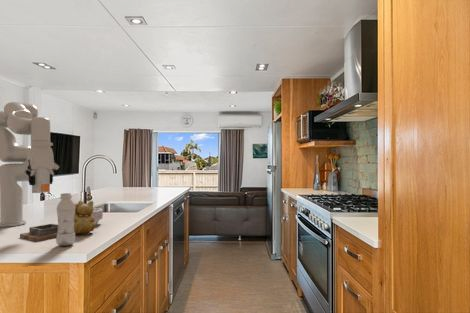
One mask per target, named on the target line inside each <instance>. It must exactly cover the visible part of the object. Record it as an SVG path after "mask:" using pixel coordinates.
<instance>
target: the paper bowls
mask: <svg viewBox="0 0 470 313" xmlns="http://www.w3.org/2000/svg"><path fill="white" fill-rule="evenodd" d="M103 214H104V211H103V208H100V207H99V208H97V207H93V213H92V214H91V215H92V216H93V217H94V219H95V221H94V222H95V226H96V225H98V223H99V222H100V220H102V219H103V216H104V215H103ZM74 223H75V222H74Z"/></svg>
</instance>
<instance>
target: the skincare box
mask: <svg viewBox="0 0 470 313" xmlns="http://www.w3.org/2000/svg"><path fill="white" fill-rule="evenodd" d="M33 176H35V185H31V194H42V193H43V194H44V193H50V192H51V184H50V171H49V170H46V169H45V168H44V166H38V169H37V170H36V171H35V173H34V175H33Z"/></svg>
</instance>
